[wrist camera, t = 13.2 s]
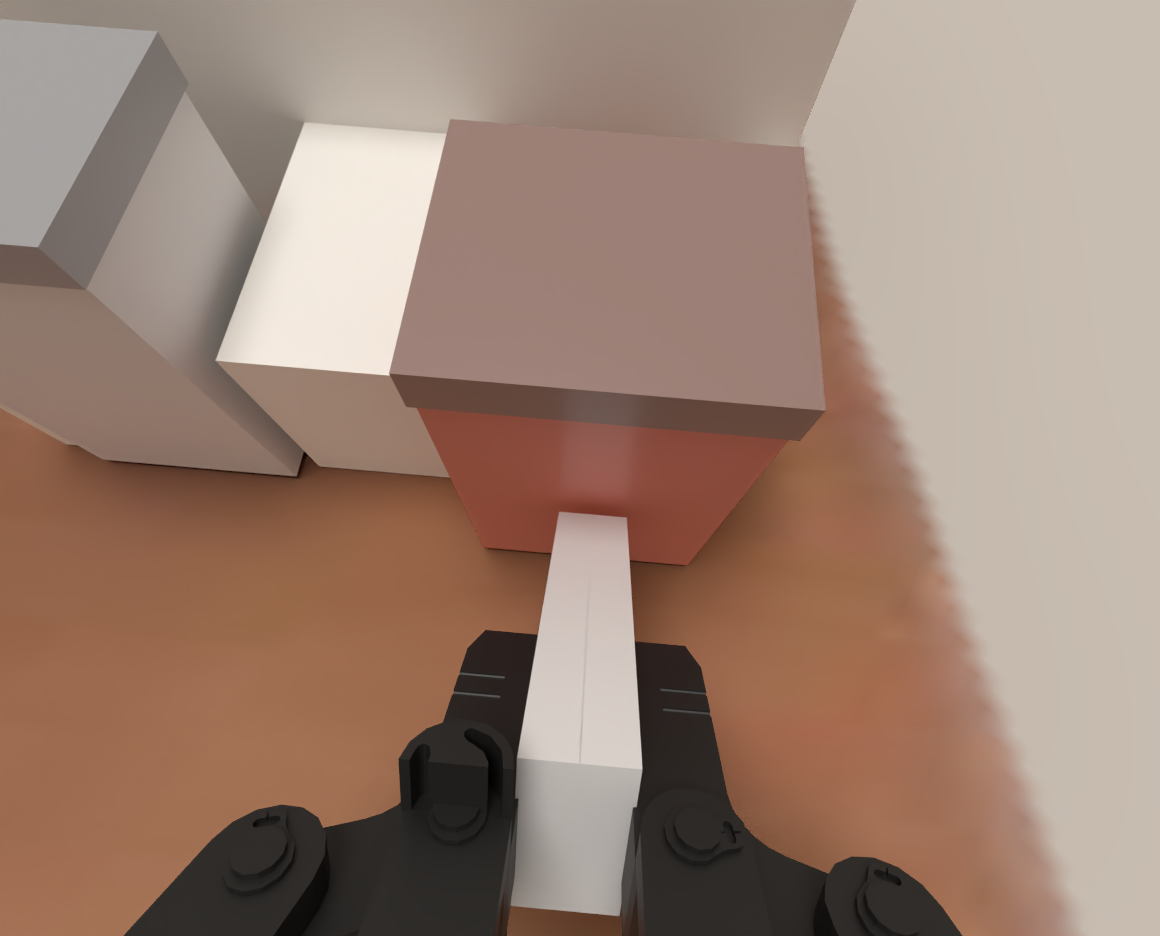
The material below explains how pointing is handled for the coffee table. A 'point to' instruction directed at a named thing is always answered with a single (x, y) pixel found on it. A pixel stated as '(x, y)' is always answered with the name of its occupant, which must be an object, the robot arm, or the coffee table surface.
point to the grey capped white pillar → (122, 255)
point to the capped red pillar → (610, 329)
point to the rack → (427, 151)
